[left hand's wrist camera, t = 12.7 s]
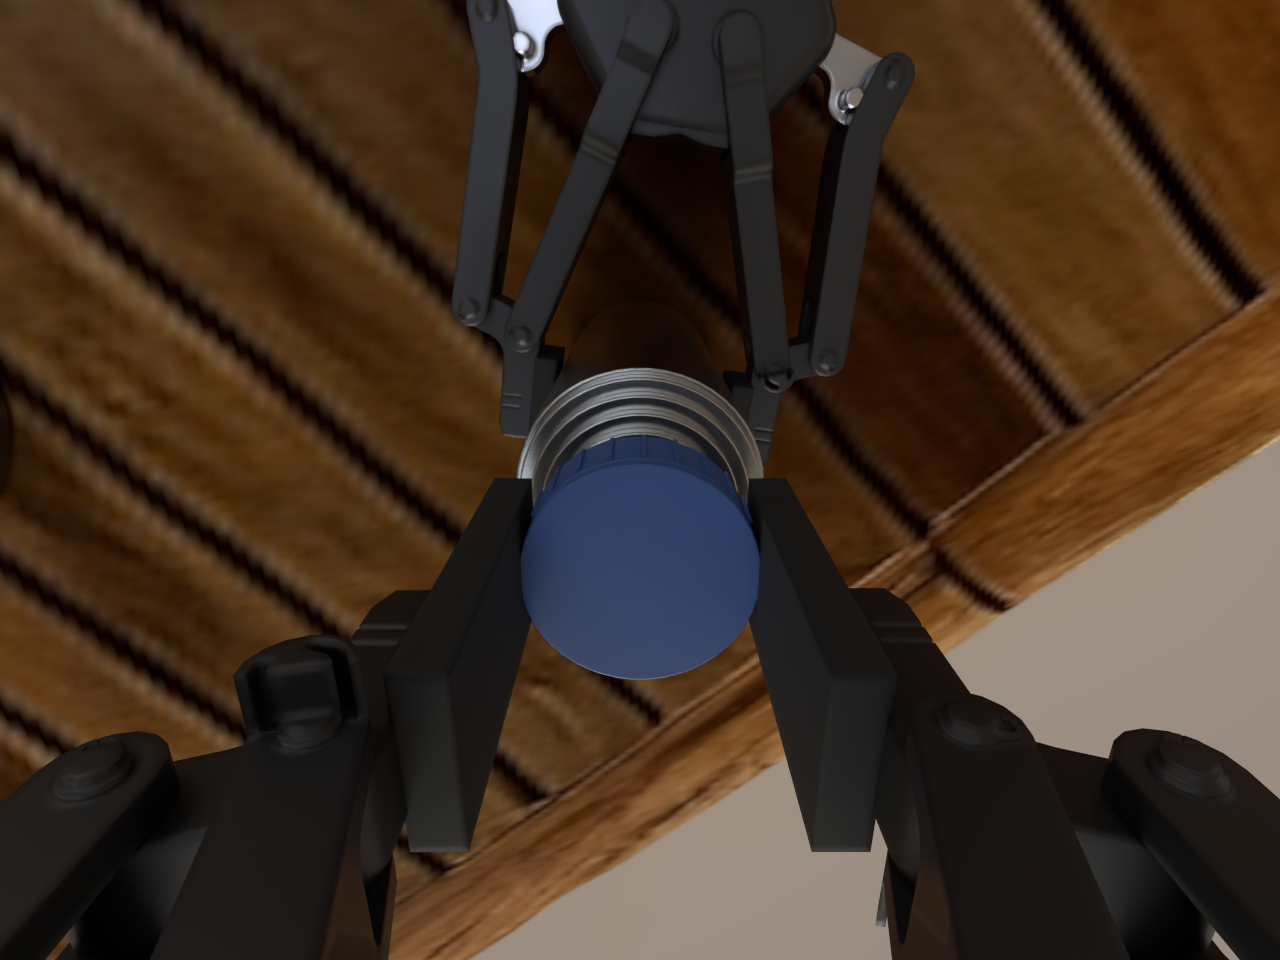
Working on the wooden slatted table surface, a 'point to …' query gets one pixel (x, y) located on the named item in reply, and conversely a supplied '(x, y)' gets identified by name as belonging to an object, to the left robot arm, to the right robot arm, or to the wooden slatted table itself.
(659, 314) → the bottle
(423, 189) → the wooden slatted table surface
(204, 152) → the wooden slatted table surface
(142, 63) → the wooden slatted table surface
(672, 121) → the right robot arm
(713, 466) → the cap
